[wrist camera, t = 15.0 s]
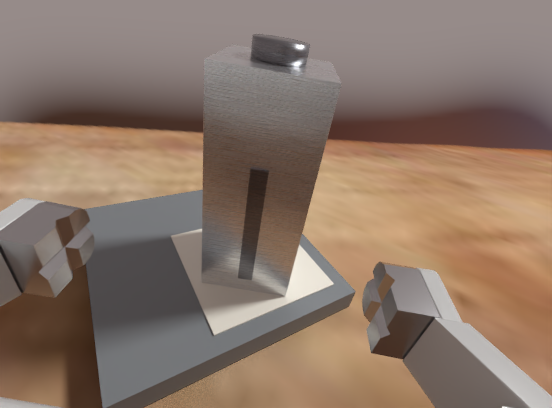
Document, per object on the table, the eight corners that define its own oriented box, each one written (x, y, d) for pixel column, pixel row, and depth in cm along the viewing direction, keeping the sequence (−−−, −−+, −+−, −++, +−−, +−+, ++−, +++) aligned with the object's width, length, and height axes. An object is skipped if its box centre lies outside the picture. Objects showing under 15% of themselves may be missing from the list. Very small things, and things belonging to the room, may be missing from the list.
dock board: (252, 194, 29) (254, 180, 28) (348, 306, 19) (356, 290, 19) (84, 226, 22) (79, 208, 21) (109, 424, 12) (102, 408, 12)
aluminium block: (289, 239, 22) (335, 44, 14) (285, 297, 17) (348, 59, 10) (221, 228, 21) (234, 25, 14) (200, 283, 17) (203, 33, 10)
